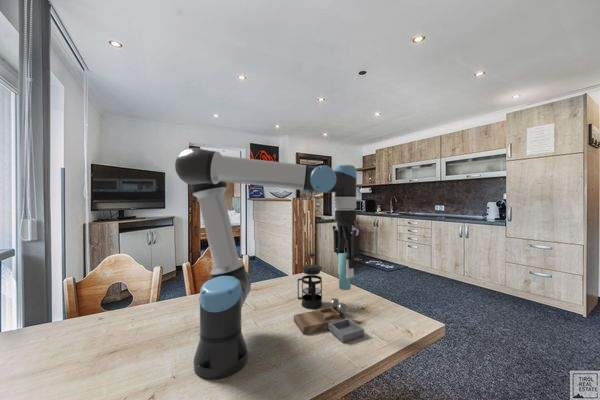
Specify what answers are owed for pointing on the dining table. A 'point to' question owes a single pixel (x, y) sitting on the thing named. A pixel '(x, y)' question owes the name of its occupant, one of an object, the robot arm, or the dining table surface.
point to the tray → (345, 330)
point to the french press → (311, 286)
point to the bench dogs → (339, 307)
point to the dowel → (343, 272)
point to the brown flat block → (316, 320)
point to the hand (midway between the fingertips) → (345, 275)
